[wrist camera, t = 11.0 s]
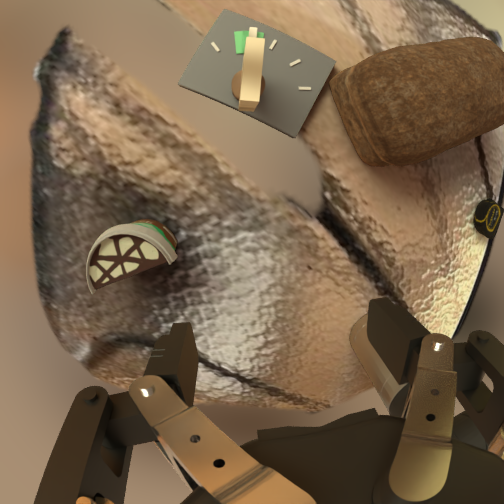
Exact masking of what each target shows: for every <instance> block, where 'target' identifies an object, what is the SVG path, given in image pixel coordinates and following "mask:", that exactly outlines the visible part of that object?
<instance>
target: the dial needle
mask: <svg viewBox="0 0 504 504" xmlns="http://www.w3.org/2000/svg"><path fill="white" fill-rule="evenodd" d="M256 37H257V28H256V27H250V28H249V37H246V44H245V51H244V57H243V67H242V70H241V71H239V72H237V73H236V74H235V75H234V77H233V79H232V86H231V90H232V94H233V96H234V97H235V98H236V99H237V100H238V101H239V109H238V110H239V111H251V112H254V110H255V108H256V107H257V105H258V103H259V99H260V97H261V95H262V93H263V91H264V89H265V79H264V77H263V76H262V66H263V55H264V44H265V38H256Z"/></svg>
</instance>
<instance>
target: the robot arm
mask: <svg viewBox="0 0 504 504" xmlns="http://www.w3.org/2000/svg"><path fill="white" fill-rule="evenodd" d="M350 344H351V346H352V348H353V350H354V351H355V353H356V355H357V357H358V358H359V360H360V362H361V364H362V365H363V367H364V369H365V371H366V372H367V374H368V376H369V378H370V380H371V381H372V383H373V385H374V387H375V388H376V390H377V392H378V393H379V395H380V397H381V399H382V401H383V402H384V404H385V406H386V408H387V410H388V412H389V414H390V415H378V414H377V412H376V410H375V408H372V409H368V410H365V411H361V412H357V413H353V414H349V415H346V416H344V417H342V418H340V419H337V420H335V421H333V422H331V423H328V424H326V425H324V426H321V427H291V426H287V427H280V428H272V429H264V430H257V433H258V439H255V440H252V441H249V442H247V443H245V444H243V445H241V446H238V445H237V444H236V443H235V442H233V441H232V440H231V439H230V438H229V437H228V436H227V435H225V434H224V433H223V432H222V431H221V430H220V429H219V428H218V427H217V426H216V425H215V424H213V422H211V421H210V420H209V419H208V418H207V417H206V416H205V415H204V414H203V413H202V412H201V411H200V410H199V409H198V408H197V407H196V406H194V405H193V401H194V393H195V386H196V378H197V371H198V352H197V348H196V343H195V339H194V334H193V330H192V326H191V323H190V322H186V323H173V325H172V328H171V331H170V334H169V335H162V336H161V337H160V338H159V339H158V340H157V341H156V343H155V345H154V348H153V351H152V353H151V357H150V359H149V362H148V364H147V367H146V370H145V373H144V375H143V377H140V378H138V379H136V380H135V381H133V382H132V383H131V385H130V386H129V391H127V392H123V393H119V394H113V395H108V392H107V391H106V390H105V389H104V388H103V387H100V386H90V387H87V388H85V389H83V390H82V391H80V392H79V393H78V394H77V395H76V397H75V399H74V401H73V403H72V406H71V408H70V410H69V412H68V415H67V417H66V419H65V422H64V424H63V426H62V428H61V431H60V433H59V436H58V438H57V441H56V443H55V446H54V448H53V450H52V453H51V456H50V458H49V461H48V463H47V466H46V469H45V472H44V475H43V477H42V480H41V483H40V486H39V489H38V492H37V495H36V498H35V501H34V504H124V497H125V491H126V484H127V478H128V472H129V466H130V461H131V455H132V450H133V445H137V444H142V443H147V442H152V441H153V442H154V443H155V445H156V446H157V447H158V449H159V450H160V451H161V453H162V454H163V455H164V457H165V458H166V459H167V461H168V462H169V463H170V464H171V466H172V467H173V468H174V469H175V471H176V472H177V473H178V475H179V476H180V478H181V479H182V480H183V482H184V483H185V484H186V485H187V487H188V488H189V489H190V490H191V492H192V493H191V494H190V495H189V496H188V497H187V498H186V499H185V500H184V501H183V502H182V503H180V504H504V345H503V344H502V343H501V342H500V341H499V340H498V339H497V338H495V337H494V336H493V335H492V334H490V333H489V332H486V331H481V330H478V331H473V332H472V333H470V334H469V337H468V341H467V342H464V343H453V341H452V340H451V339H450V338H449V337H448V336H446V335H443V334H438V333H433V334H431V333H430V332H429V331H428V330H427V329H426V328H425V327H424V326H423V325H422V324H421V323H420V322H419V321H417V319H416V318H415V317H413V316H412V315H411V314H410V313H409V312H408V311H407V310H406V309H404V308H402V307H400V306H398V305H396V306H395V305H394V304H393V303H392V302H391V301H390V300H389V299H388V298H387V297H382V298H377V299H372V300H370V302H369V310H368V314H366V315H364V316H363V317H362V318H361V319H359V320H358V321H357V323H356V324H355V325H354V327H353V329H352V331H351V334H350ZM485 373H486V374H487V375H488V377H489V378H490V379H491V380H492V382H493V385H494V389H493V393H492V392H491V391H490V390H489V389H488V387H487V386H486V385H485V384H484V382H483V381H482V379H483V377H484V374H485ZM456 397H457V399H458V400H459V402H460V403H461V405H462V406H463V407H464V409H465V410H466V411H464V412H462V413H460V414H458V415H457V416H455V417H454V409H455V398H456Z"/></svg>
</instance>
